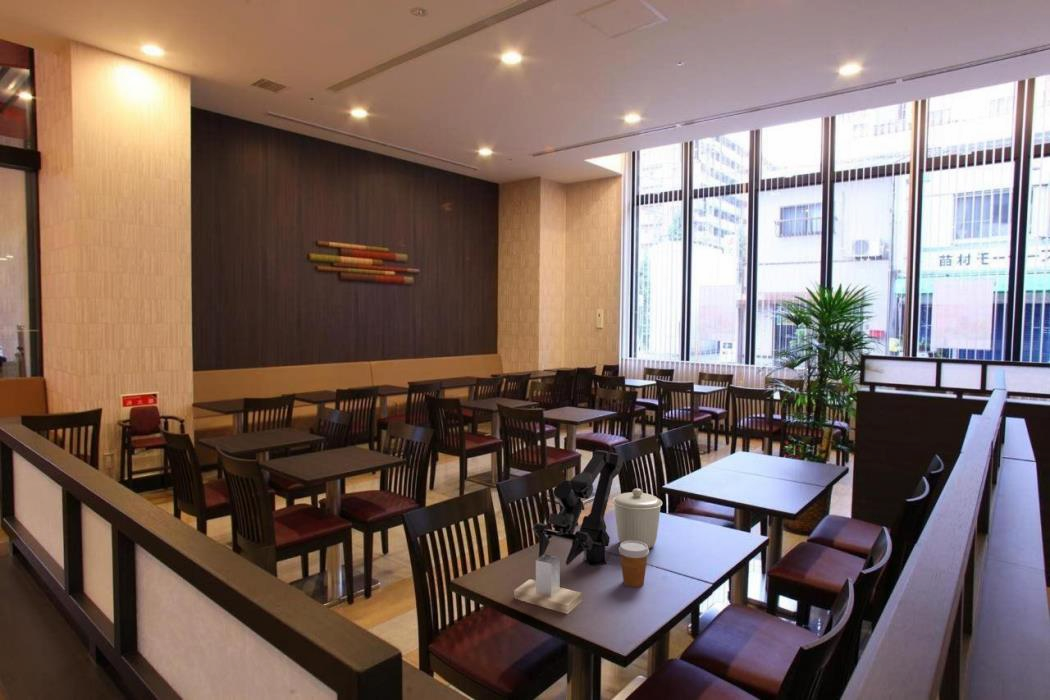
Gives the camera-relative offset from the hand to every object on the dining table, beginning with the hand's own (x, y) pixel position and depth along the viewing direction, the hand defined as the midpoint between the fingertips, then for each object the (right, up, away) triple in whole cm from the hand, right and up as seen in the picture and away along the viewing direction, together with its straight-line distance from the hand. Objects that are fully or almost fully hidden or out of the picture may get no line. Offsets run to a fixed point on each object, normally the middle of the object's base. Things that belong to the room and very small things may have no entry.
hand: (553, 561), depth 180 cm
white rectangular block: (-2, -8, -2) cm, 9 cm away
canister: (+33, -8, +40) cm, 53 cm away
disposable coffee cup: (+26, -10, +9) cm, 29 cm away
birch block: (-2, -11, -2) cm, 11 cm away
